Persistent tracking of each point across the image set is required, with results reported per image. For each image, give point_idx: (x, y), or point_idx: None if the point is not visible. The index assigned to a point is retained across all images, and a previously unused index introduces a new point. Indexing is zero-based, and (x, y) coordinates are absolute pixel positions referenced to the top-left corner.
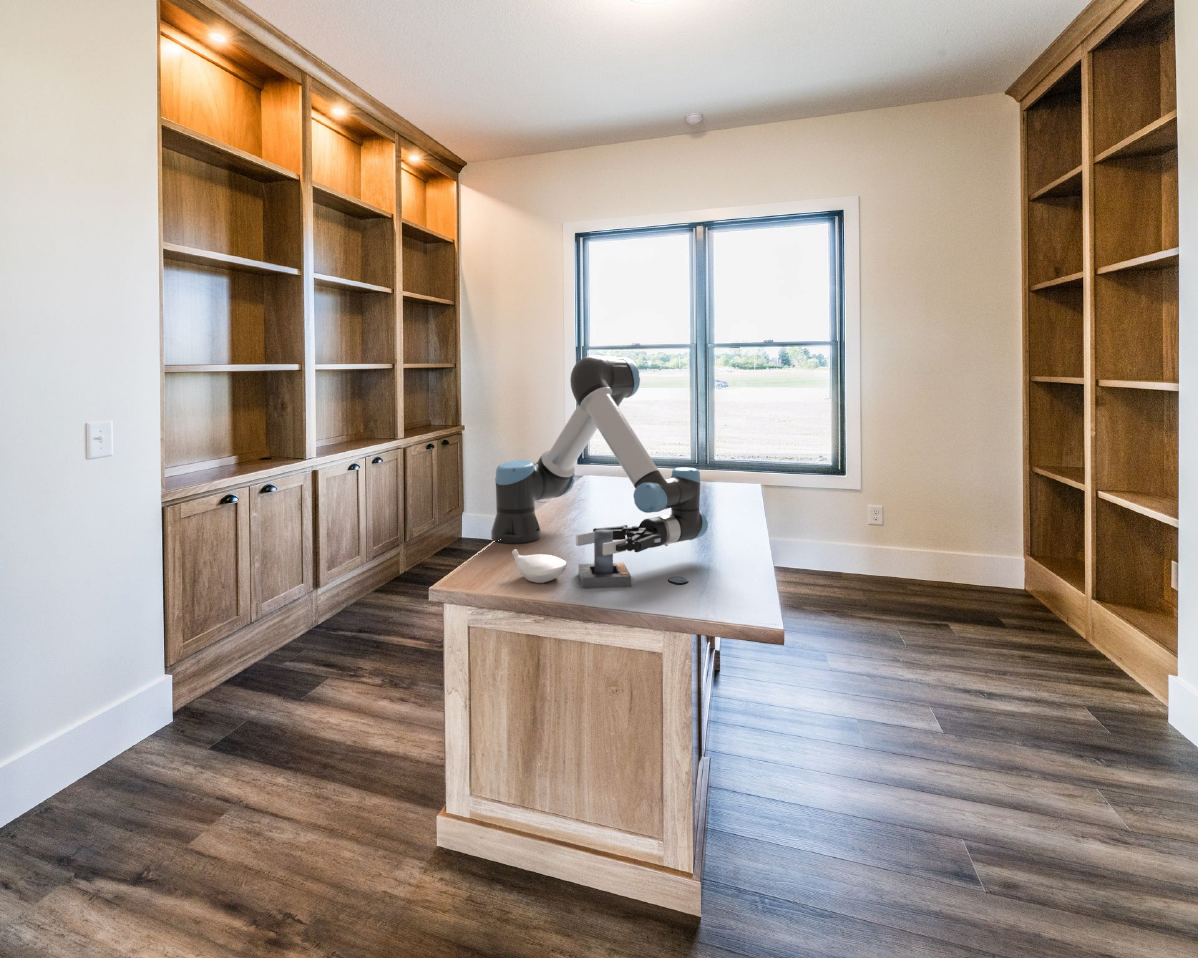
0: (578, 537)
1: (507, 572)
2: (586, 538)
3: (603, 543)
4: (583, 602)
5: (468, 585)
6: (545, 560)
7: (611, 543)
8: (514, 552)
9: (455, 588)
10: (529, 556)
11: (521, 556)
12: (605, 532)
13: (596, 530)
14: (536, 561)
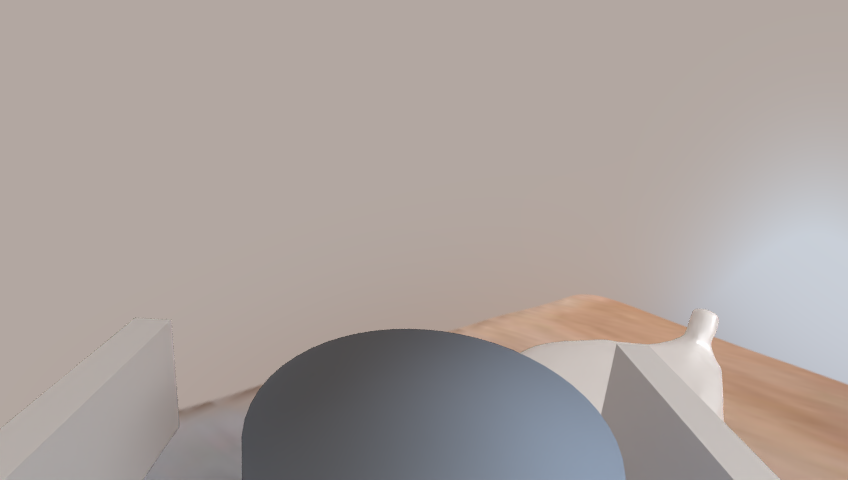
0: (614, 370)
1: (755, 435)
2: (666, 476)
3: (160, 321)
4: (171, 439)
5: (600, 324)
6: (572, 374)
7: (71, 377)
8: (691, 316)
9: (582, 305)
10: (664, 357)
11: (680, 346)
12: (345, 396)
13: (575, 398)
14: (573, 351)
